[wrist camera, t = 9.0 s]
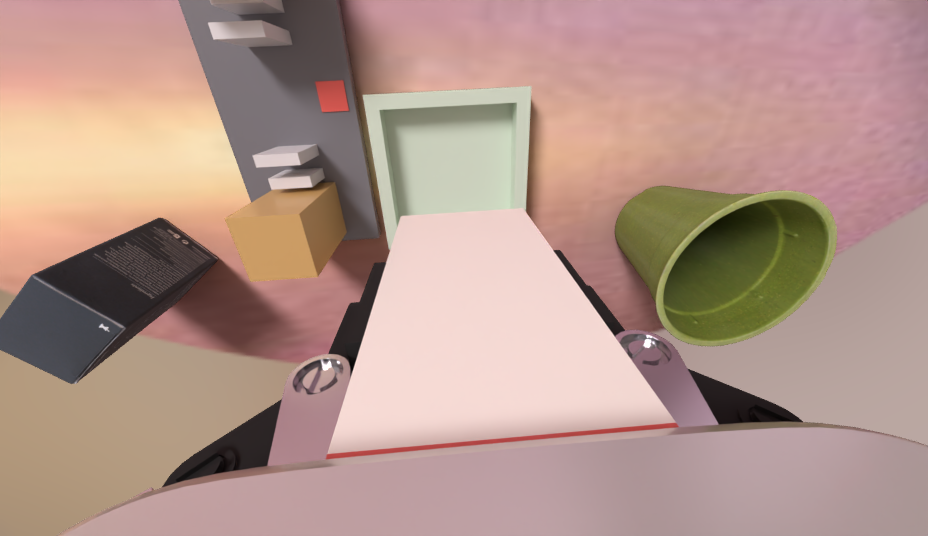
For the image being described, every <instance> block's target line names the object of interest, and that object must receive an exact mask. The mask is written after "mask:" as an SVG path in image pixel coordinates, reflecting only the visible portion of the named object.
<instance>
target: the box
mask: <svg viewBox="0 0 928 536" xmlns="http://www.w3.org/2000/svg"><path fill="white" fill-rule="evenodd" d="M217 260H218V258H217V257H215V256H214V255H213V254H211V253H210V252H209V251H207V250H206V249H205V248H203V247H202V246H201V245H199V244H198V243H197V242H195V241H194V240H192V239H191V238H190V237H189V236H187V235H186V234H184V233H183V232H182V231H180V230H179V229H177V228H176V227H175V226H173V225H172V224H171V223H169V222H168V221H167V220H166V219H164V218H157V219H155V220H153V221H151V222H148V223H146V224H144V225H142V226H140V227H137V228H135V229H133V230H131V231H129V232H126V233H124V234H122V235H120V236H117V237H115V238H113V239H111V240H108V241H106V242H104V243H102V244H99V245H97V246H95V247H93V248H90V249H88V250H86V251H84V252H81V253H79V254H77V255H75V256H73V257H70V258H68V259H66V260H64V261H62V262H60V263H57V264H55V265H53V266H50V267H48V268H46V269H44V270H42V271H40V272H38V273H35V274H33V275H31V277H30V278H29V279H28V281H27V282H26V284H25V285H24V287H23V288H22V289H21V291H20V292H19V294H18V295H17V296H16V298H15V299H14V300H13V302H12V303H11V305H10V306H9V307H8V309H7V310H6V311H5V313H4V314H3V316H2V317H1V319H0V350H2V351H4V352H6V353H8V354H10V355H12V356H14V357H17V358H19V359H21V360H23V361H25V362H27V363H29V364H31V365H33V366H35V367H37V368H39V369H42V370H43V371H45V372H48V373H50V374H52V375H54V376H56V377H58V378H60V379H62V380H64V381H66V382H68V383H71V384H73V383H74V384H75V383H78V381H79V380H80V379H82V378H83V377H84V376H86V375H87V374H88V373H89V372H91V371H92V370H93V369H94V368H95V367H97V366H98V365H99V364H100V363H102V362H103V361H104V360H105V359H107V358H108V357H109V356H110V355H112V354H113V353H114V352H115V351H117V350H118V349H119V348H120V347H122V346H123V345H124V344H125V343H127V342H128V341H129V340H130V339H132V338H133V337H134V336H135V335H136V334H138V333H139V332H140V331H142V330H143V329H144V328H145V327H147V326H148V325H149V324H150V323H152V322H153V321H154V320H155V319H157V318H158V317H159V316H160V315H162V314H163V313H164V312H165V311H167V310H168V309H169V308H170V307H172V306H173V305H174V304H175V303H177V302H178V301H179V300H180V299H181V297H183V296H184V295H185V294H186V292H188V291H189V289H190V288H191V287H192V286H193V285H194V284H195V283H196V282H197V281H198V280H199V279H200V278H201V277H202V276H203V275H204V274H205V273H206V272H207V271H208V270H209V269H210V268H211V267H212V266H213V265H214V264H215V263H216V261H217Z"/></svg>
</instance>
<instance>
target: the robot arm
mask: <svg viewBox="0 0 928 536" xmlns="http://www.w3.org/2000/svg"><path fill="white" fill-rule="evenodd" d="M553 251H554V252H555V254H556V255H557V256H558V258H559V259H560V261H561V262H562V263H563V265H564V266H565V268H566V269H567V270H568V272H569V273H570V275H571V276H572V277H573V279H574V280H575V282H576V283H577V284H578V286H579V287H580V289H581V290H582V291H583V293H584V294H585V296H586V297H587V298H588V300H589V301H590V303H591V304H592V305H593V307H594V308H595V310H596V311H597V313H598V314H599V315H600V317H601V318H602V320H603V321H604V322H605V324H606V325H607V327H608V328H609V329H610V331H611V332H612V334H613V335H614V336H615V338H616V339H617V341H618V342H619V343H620V345H621V346H622V348H623V349H624V350H625V352H626V353H627V355H628V356H629V357H630V359H631V360H632V362H633V363H634V364H635V366H636V367H637V369H638V370H639V371H640V373H641V374H642V376H643V377H644V378H645V380H646V381H647V383H648V384H649V385H650V387H651V388H652V390H653V391H654V392H655V394H656V395H657V397H658V398H659V399H660V401H661V402H662V404H663V405H664V406H665V408H666V409H667V411H668V412H669V413H670V415H671V416H672V418H673V419H674V420H675V422H676V423H677V425H678V426H679V427H676V428H664V429H653V430H641V431H629V432H617V433H606V434H594V435H582V436H571V437H560V438H548V439H537V440H526V441H515V442H504V443H493V444H482V445H471V446H460V447H450V448H439V449H428V450H418V451H408V452H397V453H387V454H377V455H366V456H356V457H346V458H335V459H326V456H327V453H328V450H329V447H330V443H331V440H332V437H333V434H334V430H335V427H336V424H337V421H338V417H339V414H340V411H341V408H342V405H343V401H344V398H345V395H346V392H347V388H348V385H349V382H350V379H351V375H352V372H353V369H354V366H355V362H356V359H357V356H358V353H359V350H360V346H361V343H362V340H363V337H364V333H365V330H366V327H367V324H368V320H369V317H370V314H371V311H372V308H373V304H374V301H375V298H376V295H377V291H378V288H379V285H380V282H381V278H382V275H383V272H384V269H385V266H386V262H381V263H374V265H373V268H372V271H371V273H370V276H369V279H368V281H367V284H366V287H365V289H364V292H363V295H362V297H361V300H360V302H356V303H350V305H349V306H348V308H347V311H346V313H345V316H344V318H343V320H342V323H341V325H340V327H339V330H338V332H337V334H336V337H335V339H334V342H333V344H332V346H331V349H330V351H329V353H328V354H325V355H319V356H316V357H313V358H311V359H309V360H307V361H305V362H303V363H301V364H300V365H299V366H298V367H296V368H295V369H294V370H293V371H292V372H291V374H290V375H289V376H288V378H287V381H286V383H285V387H284V393H283V397H282V399H281V400H280V401H278V402H277V403H275V404H274V405H272V406H271V407H269V408H267V409H266V410H264V411H263V412H261V413H259V414H258V415H256V416H254V417H253V418H251V419H250V420H248V421H247V422H245V423H243V424H242V425H240V426H239V427H237V428H235V429H234V430H233V431H231V432H229V433H228V434H226V435H224V436H223V437H221V438H220V439H218V440H217V441H215V442H213V443H212V444H210V445H209V446H207V447H205V448H204V449H202V450H201V451H199V452H197V453H196V454H194V455H193V456H191V457H190V458H189V459H188V460H186V461H185V462H184V463H182V464H181V465H180V466H179V467H178V468H177V469H176V470H175V471H174V472H173V473H172V474H171V475H170V476H169V478H168V479H167V481H166V482H165V484H164V485H163V486H162V488H159V489H156V490H154V489H153V488H149V489H148V490H146V491H144V492H142V493H140V494H138V495H136V496H135V497H133V498H131V499H129V500H127V501H124V502H122V503H119V504H117V505H114V506H112V507H109V508H107V509H105V510H103V511H101V512H99V513H97V514H95V515H93V516H91V517H88V518H86V519H84V520H83V521H81V522H79V523H77V524H75V525H74V526H72V527H70V528H68V529H66V530H65V531H63V532H61V533H60V534H58V535H57V536H928V446H927V445H924V444H921V443H918V442H915V441H911V440H907V439H904V438H901V437H897V436H893V435H889V434H884V433H880V432H875V431H870V430H865V429H861V428H856V427H848V426H840V425H832V424H823V423H808V422H803V421H802V420H800V419H799V418H798V417H797V416H795V415H794V414H792V413H791V412H789V411H788V410H786V409H784V408H782V407H780V406H778V405H776V404H773V403H771V402H769V401H767V400H764V399H762V398H759V397H757V396H754V395H752V394H749V393H747V392H744V391H742V390H739V389H737V388H734V387H732V386H729V385H727V384H724V383H722V382H719V381H717V380H714V379H712V378H709V377H707V376H704V375H702V374H699V373H697V372H695V371H692V370H690V369H687V367H686V366H685V364H684V362H683V360H682V358H681V356H680V355H679V353H678V351H677V350H676V349H675V347H674V346H673V345H672V344H671V343H669V342H668V341H667V340H666V339H664V338H662V337H660V336H658V335H656V334H653V333H650V332H647V331H641V330H627V331H625V330H624V328H623V327H622V326H621V325H620V323H619V322H618V321H617V319H616V318H615V317H614V316H613V314H612V313H611V312H610V310H609V309H608V308H607V306H606V305H605V304H604V303H603V301H602V300H601V299H600V297H599V296H598V295H597V294H596V292H595V291H594V290H593V288H592V287H590V286H588V285H586V284H585V283H584V281H583V280H582V279H581V277H580V276H579V275H578V273H577V272H576V271H575V269H574V268H573V267H572V265H571V264H570V263H569V261H568V260H567V259H566V257H565V256H564V255H563V253H562V252H561V251H560V250H553ZM325 459H326V460H325Z"/></svg>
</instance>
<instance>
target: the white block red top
mask: <svg viewBox="0 0 928 536" xmlns="http://www.w3.org/2000/svg"><path fill="white" fill-rule="evenodd" d="M676 427H679V426H678V425H677V423H676V422H675V420H674V419H673V418H672V416H671V415H670V413H669V412H668V411H667V409H666V408H665V406H664V405H663V404H662V402H661V401H660V399H659V398H658V397H657V395H656V394H655V392H654V391H653V390H652V388H651V387H650V385H649V384H648V383H647V381H646V380H645V378H644V377H643V376H642V374H641V373H640V371H639V370H638V369H637V367H636V366H635V364H634V363H633V362H632V360H631V359H630V357H629V356H628V355H627V353H626V352H625V350H624V349H623V348H622V346H621V345H620V343H619V342H618V341H617V339H616V338H615V336H614V335H613V334H612V332H611V331H610V329H609V328H608V327H607V325H606V324H605V322H604V321H603V320H602V318H601V317H600V315H599V314H598V313H597V311H596V310H595V308H594V307H593V305H592V304H591V303H590V301H589V300H588V298H587V297H586V296H585V294H584V293H583V291H582V290H581V289H580V287H579V286H578V284H577V283H576V282H575V280H574V279H573V277H572V276H571V275H570V273H569V272H568V270H567V269H566V268H565V266H564V265H563V263H562V262H561V261H560V259H559V258H558V256H557V255H556V254H555V252H554V251H553V249H552V248H551V247H550V245H549V244H548V242H547V241H546V240H545V238H544V237H543V235H542V234H541V233H540V231H539V230H538V228H537V227H536V226H535V224H534V223H533V221H532V220H531V219H530V217H529V216H528V214H527V213H526V212H525V210H524V209H523V208H517V209H501V210H486V211H471V212H455V213H440V214H425V215H409V216H401V217H400V220H399V224H398V227H397V230H396V233H395V236H394V240H393V243H392V246H391V249H390V253H389V256H388V259H387V262H386V266H385V269H384V272H383V275H382V278H381V282H380V285H379V288H378V291H377V295H376V298H375V301H374V304H373V308H372V311H371V314H370V317H369V320H368V324H367V327H366V330H365V333H364V337H363V340H362V343H361V346H360V350H359V353H358V356H357V359H356V362H355V366H354V369H353V372H352V375H351V379H350V382H349V385H348V388H347V392H346V395H345V398H344V401H343V405H342V408H341V411H340V414H339V417H338V421H337V424H336V427H335V430H334V434H333V437H332V440H331V443H330V447H329V450H328V453H327V456H326V459H335V458H346V457H356V456H366V455H377V454H387V453H397V452H408V451H418V450H428V449H439V448H450V447H460V446H471V445H482V444H493V443H504V442H515V441H526V440H537V439H548V438H560V437H571V436H582V435H594V434H606V433H617V432H629V431H641V430H653V429H664V428H676ZM326 459H325V460H326Z"/></svg>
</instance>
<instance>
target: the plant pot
mask: <svg viewBox="0 0 928 536" xmlns="http://www.w3.org/2000/svg"><path fill="white" fill-rule="evenodd" d="M615 237H616V240H617V242H618V245H619V247H620V248H621V250H622V251H623V253H624V254H625V255H626V257H627V258H628V259H629V261H630V262H631V264H632V265H633V267H634V268H635V269H636V271H637V272H638V274H639V275H640V276H641V278H642V279H643V281H644V282H645V284H646V285H647V286H648V288H649V290H650V293H651V296H652V298H653V299H654V301H655V303H656V310H657V314H658V317H659V319H660V321H661V323H662V325H663V326H664V327H665V329H666V330H667V331H668V332H669V333H670V334H671V335H673V336H674V337H675V338H677V339H679V340H681V341H683V342H686V343H688V344H693V345H698V346H722V345H727V344H733V343H737V342H740V341H743V340H746V339H749V338H752V337H754V336H756V335H758V334H761V333H763V332H764V331H766V330H768V329H770V328H772V327H774V326H775V325H777V324H779V323H780V322H781V321H783V320H784V319H786V318H787V317H788V316H790V315H791V314H792V313H793V312H794V311H796V310H797V309H798V308H799V307H800V306H801V305H802V304H803V303H804V302H805V301H806V300H807V299H808V298H809V297H810V296H811V294H812V293H813V292H814V291H815V290H816V288H817V287H818V286H819V285H820V283H821V282H822V280H823V279H824V277H825V275H826V272H827V270H828V268H829V266H830V264H831V262H832V260H833V257H834V254H835V249H836V242H837V228H836V224H835V221H834V218H833V216H832V214H831V212H830V210H829V209H828V208H827V207H826V206H825V205H824V204H823V203H822V202H821V201H820V200H818V199H817V198H815V197H813V196H811V195H808V194H805V193H802V192H797V191H770V192H764V193H759V194H725V193H717V192H709V191H701V190H693V189H685V188H678V187H670V186H657V187H652V188H649V189H646V190H645V191H644V192H642V193H641V194H639V195H637V196H636V197H634V198H633V199H631V200H630V201H629V202H628V203H627V204H626V205H625V206H624V208H623V209H622V211H621V212H620V214H619V216H618V219H617V222H616V226H615Z"/></svg>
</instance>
